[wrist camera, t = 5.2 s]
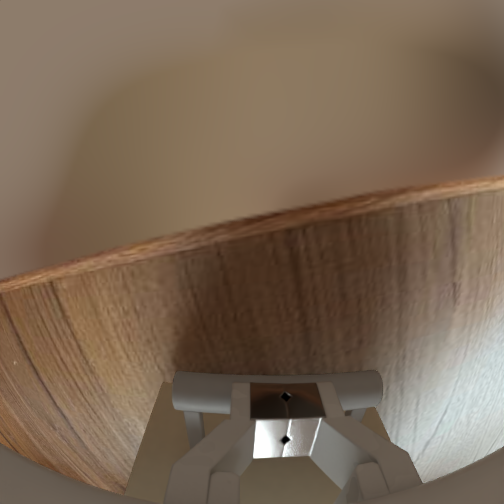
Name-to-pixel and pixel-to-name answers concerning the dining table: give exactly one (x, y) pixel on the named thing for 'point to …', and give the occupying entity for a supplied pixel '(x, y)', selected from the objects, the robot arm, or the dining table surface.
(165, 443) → the drawer
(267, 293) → the dining table surface
